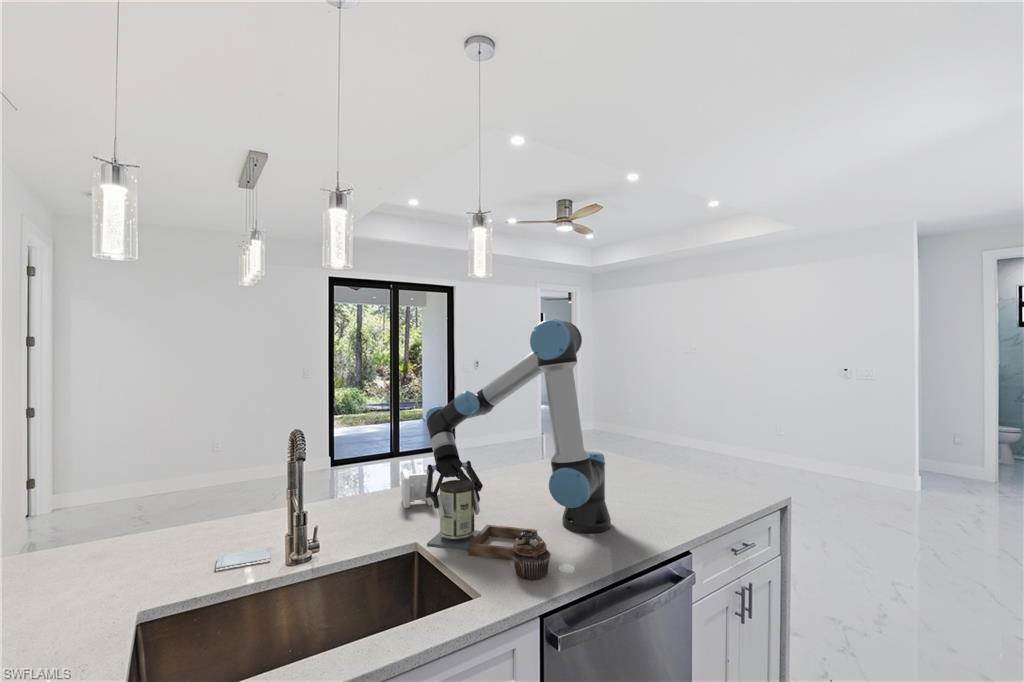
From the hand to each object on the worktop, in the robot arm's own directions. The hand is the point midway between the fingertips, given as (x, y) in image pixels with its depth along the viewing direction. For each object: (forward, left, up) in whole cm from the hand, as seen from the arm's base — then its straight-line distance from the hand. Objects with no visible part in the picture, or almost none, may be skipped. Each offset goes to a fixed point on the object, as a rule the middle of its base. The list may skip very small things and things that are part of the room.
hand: (460, 515), depth 139 cm
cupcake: (-24, +13, -8) cm, 28 cm away
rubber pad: (+2, -2, -8) cm, 8 cm away
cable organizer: (+29, -29, -8) cm, 42 cm away
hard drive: (+51, +26, -9) cm, 58 cm away
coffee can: (+2, -2, -6) cm, 7 cm away
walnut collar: (-13, 0, -8) cm, 15 cm away
